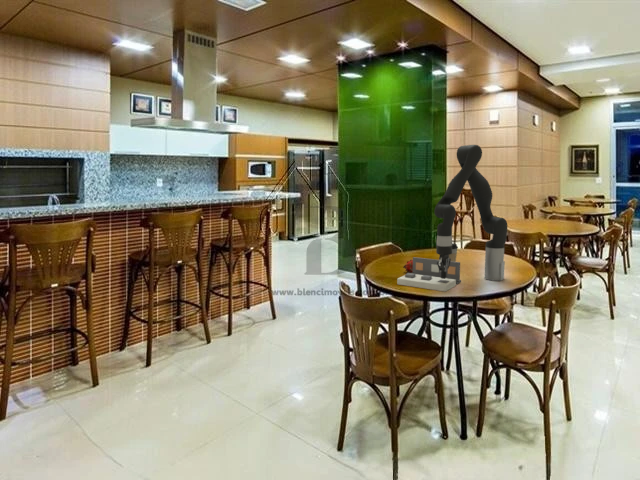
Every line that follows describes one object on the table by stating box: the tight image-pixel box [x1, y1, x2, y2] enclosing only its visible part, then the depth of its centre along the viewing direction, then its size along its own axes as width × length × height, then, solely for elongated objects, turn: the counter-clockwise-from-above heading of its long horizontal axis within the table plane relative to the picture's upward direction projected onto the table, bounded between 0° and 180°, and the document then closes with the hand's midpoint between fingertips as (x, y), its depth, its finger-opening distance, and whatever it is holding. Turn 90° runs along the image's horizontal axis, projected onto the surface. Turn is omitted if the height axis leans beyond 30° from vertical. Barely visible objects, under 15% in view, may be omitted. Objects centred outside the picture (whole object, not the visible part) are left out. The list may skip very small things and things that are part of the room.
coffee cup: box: [449, 242, 459, 262], centre depth 262 cm, size 9×9×15 cm
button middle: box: [421, 275, 432, 281], centre depth 230 cm, size 4×4×3 cm
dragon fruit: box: [402, 259, 413, 273], centre depth 257 cm, size 8×8×12 cm
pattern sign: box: [412, 256, 462, 285], centre depth 239 cm, size 26×6×11 cm, turn 54°
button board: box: [396, 274, 457, 292], centre depth 230 cm, size 26×14×3 cm, turn 54°
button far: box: [404, 272, 415, 278], centre depth 235 cm, size 4×4×3 cm
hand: (443, 278), depth 224 cm, fingers closed
